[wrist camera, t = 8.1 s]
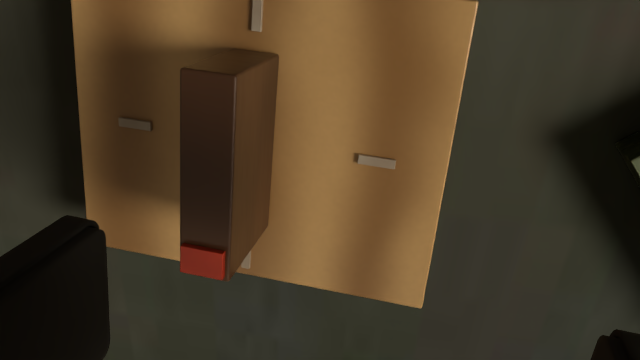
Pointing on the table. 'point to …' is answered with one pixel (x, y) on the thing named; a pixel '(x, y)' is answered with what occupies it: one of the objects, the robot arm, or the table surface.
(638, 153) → the button box
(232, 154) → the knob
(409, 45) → the light wood flat block
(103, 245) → the robot arm
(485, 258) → the table surface
